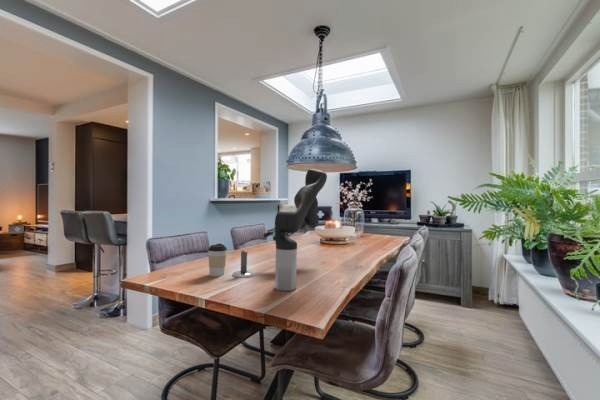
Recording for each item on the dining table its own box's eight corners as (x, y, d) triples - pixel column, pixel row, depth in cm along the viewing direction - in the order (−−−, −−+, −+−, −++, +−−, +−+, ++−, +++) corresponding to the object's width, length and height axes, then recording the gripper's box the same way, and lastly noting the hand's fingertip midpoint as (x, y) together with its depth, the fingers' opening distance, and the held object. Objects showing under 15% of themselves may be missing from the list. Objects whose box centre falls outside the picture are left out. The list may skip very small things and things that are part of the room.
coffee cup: (223, 277, 140) (224, 246, 140) (204, 276, 140) (205, 245, 140) (228, 272, 149) (229, 243, 149) (210, 272, 149) (211, 243, 149)
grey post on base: (252, 278, 140) (252, 253, 140) (229, 277, 141) (230, 252, 141) (256, 272, 151) (257, 249, 151) (235, 271, 152) (236, 248, 152)
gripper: (281, 220, 172) (259, 228, 161) (298, 224, 162) (276, 232, 151) (283, 232, 174) (261, 241, 163) (299, 236, 163) (277, 246, 153)
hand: (268, 237), depth 157 cm, fingers open, 8 cm apart
